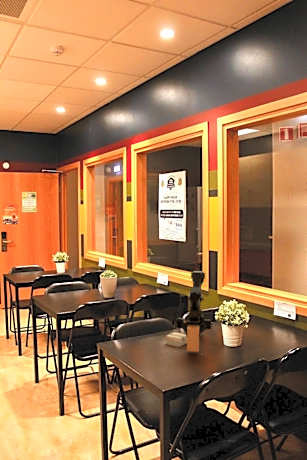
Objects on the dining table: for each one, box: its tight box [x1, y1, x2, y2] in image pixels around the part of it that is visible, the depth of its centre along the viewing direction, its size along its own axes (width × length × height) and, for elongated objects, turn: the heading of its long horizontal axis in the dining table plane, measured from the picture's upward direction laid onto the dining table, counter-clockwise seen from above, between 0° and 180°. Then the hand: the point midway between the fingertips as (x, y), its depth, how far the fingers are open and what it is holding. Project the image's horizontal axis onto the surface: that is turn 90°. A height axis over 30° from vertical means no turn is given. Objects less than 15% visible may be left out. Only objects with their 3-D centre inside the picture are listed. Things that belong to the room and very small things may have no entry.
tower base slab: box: [165, 339, 187, 348], centre depth 240 cm, size 9×9×2 cm
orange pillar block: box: [186, 325, 200, 353], centre depth 223 cm, size 6×6×12 cm
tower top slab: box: [165, 332, 187, 343], centre depth 240 cm, size 9×9×2 cm
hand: (193, 337), depth 221 cm, fingers closed on orange pillar block, 6 cm apart
